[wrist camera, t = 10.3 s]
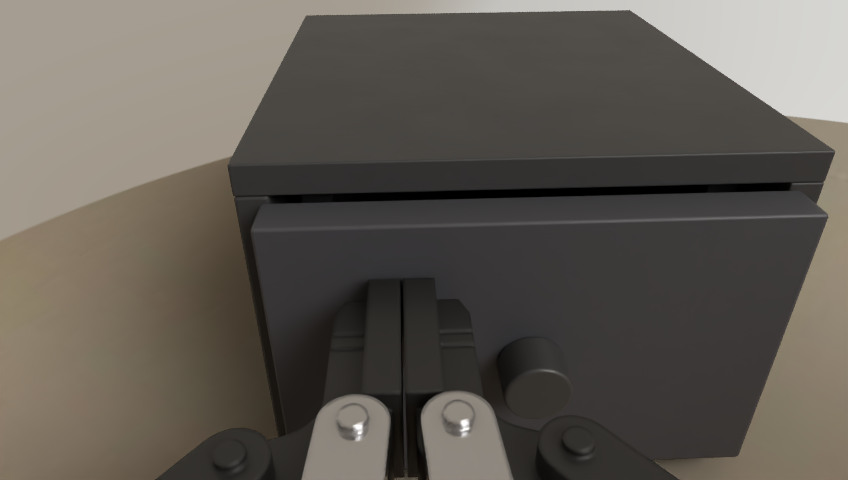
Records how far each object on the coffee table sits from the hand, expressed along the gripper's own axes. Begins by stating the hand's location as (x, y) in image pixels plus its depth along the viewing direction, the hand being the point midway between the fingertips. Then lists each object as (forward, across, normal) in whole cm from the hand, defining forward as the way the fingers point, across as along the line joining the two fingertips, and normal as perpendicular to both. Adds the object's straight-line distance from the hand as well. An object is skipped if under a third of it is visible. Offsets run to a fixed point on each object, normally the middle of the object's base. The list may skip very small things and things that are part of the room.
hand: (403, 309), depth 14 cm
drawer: (+6, +3, -6) cm, 9 cm away
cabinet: (+9, +3, -6) cm, 11 cm away
